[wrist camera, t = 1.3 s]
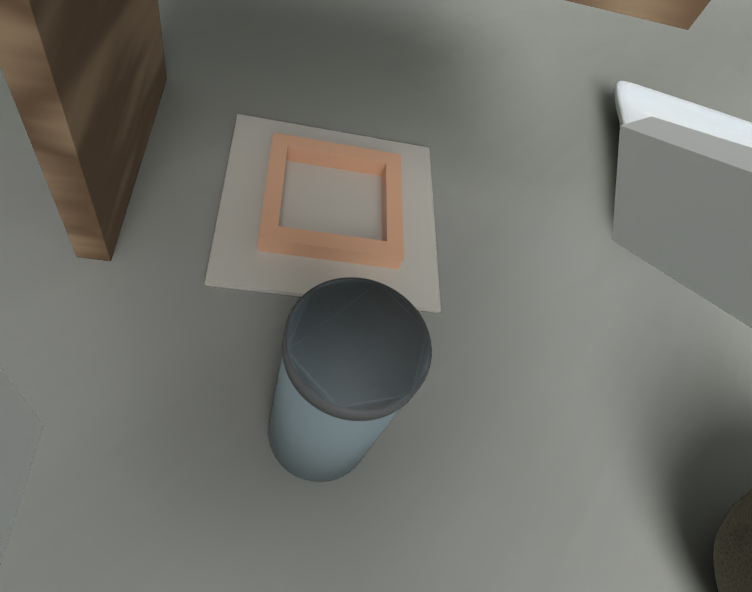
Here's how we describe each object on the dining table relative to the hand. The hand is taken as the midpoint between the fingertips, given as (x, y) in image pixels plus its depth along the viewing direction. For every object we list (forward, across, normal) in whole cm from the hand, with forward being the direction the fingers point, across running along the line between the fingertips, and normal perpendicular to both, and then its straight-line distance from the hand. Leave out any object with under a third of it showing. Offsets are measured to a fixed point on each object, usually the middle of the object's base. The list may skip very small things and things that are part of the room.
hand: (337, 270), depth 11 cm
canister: (+14, -2, -18) cm, 23 cm away
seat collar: (+29, +4, -11) cm, 31 cm away
